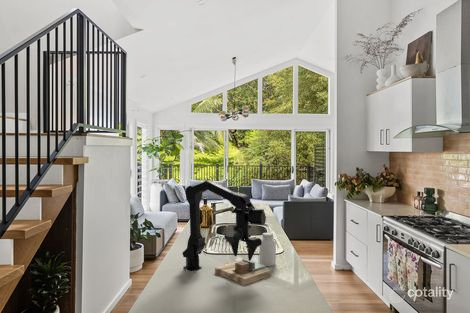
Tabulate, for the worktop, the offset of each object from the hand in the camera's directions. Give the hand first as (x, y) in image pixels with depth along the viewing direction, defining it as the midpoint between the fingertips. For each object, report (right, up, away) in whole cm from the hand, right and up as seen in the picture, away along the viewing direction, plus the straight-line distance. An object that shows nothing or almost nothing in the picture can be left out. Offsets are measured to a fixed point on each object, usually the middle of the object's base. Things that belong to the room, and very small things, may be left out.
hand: (242, 258), depth 162 cm
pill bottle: (+13, -8, +17) cm, 23 cm away
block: (0, -8, 0) cm, 8 cm away
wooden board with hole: (0, -8, +3) cm, 9 cm away
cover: (+5, -5, +5) cm, 9 cm away
